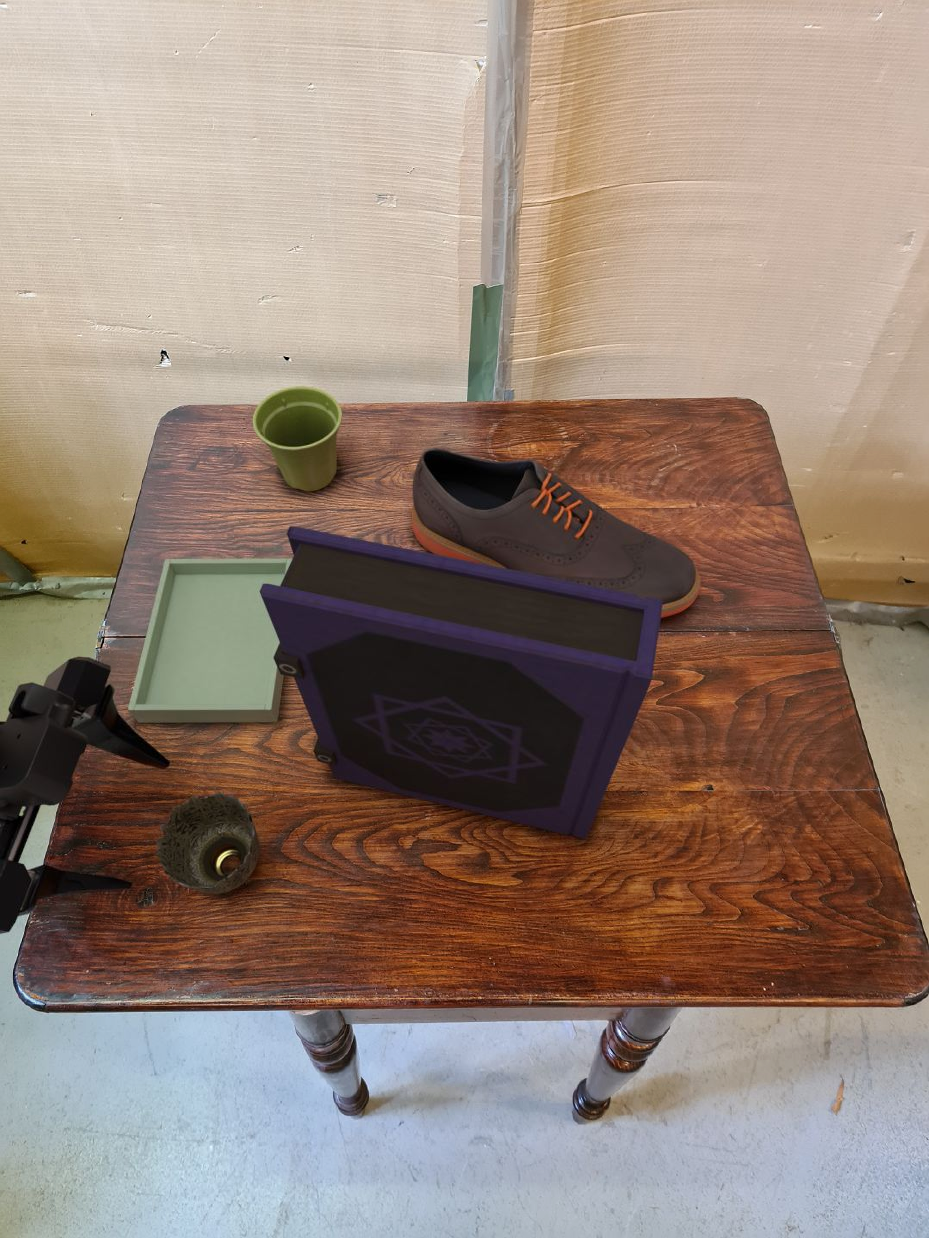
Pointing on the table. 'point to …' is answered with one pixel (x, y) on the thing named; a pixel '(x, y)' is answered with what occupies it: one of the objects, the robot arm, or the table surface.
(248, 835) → the ornate lamp shade
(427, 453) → the oxford shoe
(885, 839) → the table surface
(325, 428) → the plant pot
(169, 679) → the tray
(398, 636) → the book
